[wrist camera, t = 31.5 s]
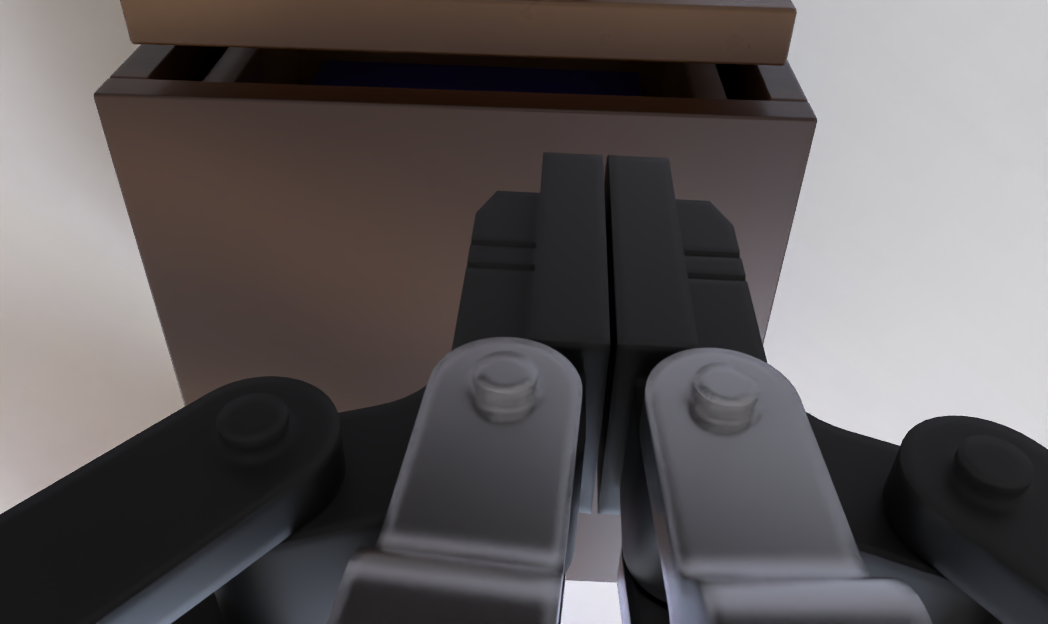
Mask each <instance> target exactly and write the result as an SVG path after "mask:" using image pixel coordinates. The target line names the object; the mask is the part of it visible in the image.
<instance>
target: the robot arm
mask: <svg viewBox="0 0 1048 624" xmlns="http://www.w3.org/2000/svg"><path fill="white" fill-rule="evenodd" d="M745 278H746V274H745V270H744V266H743V262H742V258H740V250H739V246H738V242H737V238H736V234H735V230H734V226H733V225H732V223H731V222H730V221H729V220H728V219H727V218H726V217H725V216H724V215H723V214H722V213H721V212H720V211H719V210H718V209H717V208H716V207H715V206H714V205H713V204H712V203H711V201H702V200H681V199H675V194H674V187H673V181H672V175H671V168H670V162H669V159H668V158H660V157H639V156H618V155H608V156H607V160H606V167H605V176H604V166H603V155H593V154H572V153H552V152H543V160H542V174H541V188H540V193H534V192H514V191H497V192H496V193H495V194H494V195H493V196H492V197H491V198H490V199H489V200H488V201H487V202H486V203H485V204H484V205H483V206H482V207H481V208H480V209H479V210H478V211H477V212H476V215H475V220H474V226H473V232H472V237H471V245H470V249H469V254H468V260H467V267H466V271H465V277H464V283H463V288H462V294H461V300H460V305H459V311H458V316H457V322H456V328H455V333H454V339H453V345H452V350H451V352H449V353H448V354H446V355H445V356H444V357H443V358H442V359H441V360H440V361H439V362H438V363H437V365H436V366H435V367H434V369H433V370H432V373H431V375H430V377H429V380H428V383H427V385H426V386H425V387H423V388H422V389H420V390H419V391H417V392H415V393H413V394H411V395H409V396H407V397H404V398H401V399H399V400H396V401H393V402H389V403H385V404H381V405H377V406H371V407H366V408H361V409H355V410H350V411H345V412H339V413H338V412H337V409H336V407H335V405H334V403H333V402H332V400H331V399H330V398H329V397H328V396H327V395H326V394H325V393H324V392H323V391H322V390H320V389H319V388H317V387H315V386H314V385H312V384H309V383H307V382H304V381H302V380H298V379H293V378H289V377H279V376H261V377H254V378H247V379H243V380H239V381H235V382H232V383H229V384H227V385H224V386H221V387H219V388H217V389H215V390H213V391H211V392H209V393H207V394H206V395H204V396H202V397H201V398H199V399H197V400H195V401H194V402H192V403H190V404H189V405H187V406H185V407H183V408H182V409H180V410H178V411H177V412H175V413H173V414H171V415H170V416H168V417H166V418H165V419H163V420H161V421H159V422H158V423H156V424H154V425H153V426H151V427H149V428H147V429H146V430H144V431H142V432H141V433H139V434H137V435H135V436H134V437H132V438H130V439H129V440H127V441H125V442H123V443H122V444H120V445H118V446H117V447H115V448H113V449H112V450H110V451H108V452H106V453H105V454H103V455H101V456H100V457H98V458H96V459H94V460H93V461H91V462H89V463H88V464H86V465H84V466H82V467H81V468H79V469H77V470H76V471H74V472H72V473H70V474H69V475H67V476H65V477H64V478H62V479H60V480H58V481H57V482H55V483H53V484H52V485H50V486H48V487H46V488H45V489H43V490H41V491H40V492H38V493H36V494H34V495H33V496H31V497H29V498H28V499H26V500H24V501H23V502H21V503H19V504H17V505H16V506H14V507H12V508H11V509H9V510H7V511H5V512H4V513H2V514H0V624H561V617H562V608H563V598H564V589H565V579H566V572H567V570H568V568H569V566H570V565H571V562H572V559H573V556H574V551H575V542H576V532H577V522H578V513H590V514H591V511H592V503H593V494H594V485H595V476H596V467H597V504H598V514H614V515H621V534H622V547H621V553H620V560H619V567H618V573H617V586H618V594H619V602H620V610H621V618H622V624H1048V449H1046V448H1045V447H1043V446H1042V445H1040V444H1039V443H1037V442H1036V441H1034V440H1032V439H1030V438H1029V437H1027V436H1025V435H1024V434H1022V433H1020V432H1018V431H1015V430H1013V429H1011V428H1009V427H1007V426H1004V425H1001V424H998V423H995V422H992V421H988V420H984V419H980V418H975V417H967V416H942V417H936V418H932V419H928V420H925V421H923V422H921V423H919V424H917V425H916V426H914V427H913V428H912V429H911V430H910V431H908V433H907V434H906V436H905V437H904V439H903V441H902V443H901V446H898V445H895V444H892V443H888V442H885V441H881V440H878V439H874V438H871V437H868V436H864V435H861V434H857V433H854V432H850V431H847V430H844V429H841V428H838V427H835V426H832V425H830V424H828V423H826V422H824V421H821V420H819V419H817V418H816V417H814V416H812V415H810V414H809V413H807V412H805V409H804V407H803V404H802V402H801V399H800V397H799V395H798V393H797V391H796V389H795V388H794V386H793V385H792V384H791V383H790V381H789V380H788V379H787V378H786V377H785V376H784V375H783V374H782V373H781V372H779V371H778V370H776V369H775V368H774V367H772V366H771V365H769V364H767V360H766V356H765V352H764V348H763V344H762V339H761V335H760V331H759V327H758V323H757V319H756V315H755V311H754V307H753V303H752V299H751V295H750V291H749V287H748V283H747V282H746V281H745Z"/></svg>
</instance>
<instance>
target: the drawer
mask: <svg viewBox="0 0 1048 624" xmlns="http://www.w3.org/2000/svg"><path fill="white" fill-rule="evenodd" d="M120 2H121V6H122V10H123V14H124V18H125V21H126V25H127V29H128V33H129V37H130V41H131V42H132V43H133V44H149V45H179V46H208V47H228V48H227V50H226V51H225V52H224V54H223V55H222V56H221V57H220V59H219V60H218V61H217V63H216V64H215V65H214V67H213V68H212V69H211V70H210V72H209V73H208V74H207V76H206V77H205V78H204V79H203V81H210V82H239V83H268V84H297V85H311V84H312V82H313V80H314V78H315V77H316V75H317V73H318V71H319V69H320V67H321V65H322V64H323V62H324V61H325V60H333V61H358V62H384V63H410V64H435V65H461V66H487V67H512V68H538V69H564V70H590V71H615V72H637V73H639V78H640V84H641V90H642V96H646V97H675V98H704V99H727V97H726V94H725V91H724V88H723V85H722V82H721V79H720V76H719V73H718V70H717V67H716V64H741V65H771V66H783V65H785V63H786V61H787V56H788V52H789V47H790V42H791V37H792V32H793V28H794V23H795V18H796V13H797V12H796V8H795V6H794V5H793V3H792V1H791V0H120Z"/></svg>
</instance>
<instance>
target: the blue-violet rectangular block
mask: <svg viewBox="0 0 1048 624" xmlns="http://www.w3.org/2000/svg"><path fill="white" fill-rule="evenodd" d="M311 85H326V86H355V87H384V88H413V89H442V90H471V91H500V92H529V93H558V94H588V95H617V96H642V90H641V84H640V78H639V73H637V72H615V71H590V70H564V69H538V68H512V67H487V66H461V65H435V64H410V63H384V62H358V61H333V60H325V61H324V62H323V64H322V65H321V67H320V69H319V71H318V73H317V75H316V77H315V78H314V80H313V82H312V84H311Z"/></svg>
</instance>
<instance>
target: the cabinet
mask: <svg viewBox="0 0 1048 624" xmlns="http://www.w3.org/2000/svg"><path fill="white" fill-rule="evenodd" d="M227 48H228V47H208V46H179V45H149V44H142V45H141V46H140V47H139V48H138V49H137V50H136V51H135V52H134V53H133V54H132V55H131V56H130V57H129V58H128V59H127V60H126V61H125V62H124V63H123V64H122V65H121V66H120V67H119V68H118V69H117V70H116V71H115V72H114V73H113V74H112V75H111V76H110V78H109V79H107V80H106V81H105V82H104V84H103V85H102V86H101V87H100V88H99V89H98V90H97V91H96V92H95V93H94V100H95V103H96V107H97V110H98V113H99V117H100V120H101V124H102V127H103V130H104V134H105V137H106V140H107V144H108V147H109V151H110V154H111V157H112V161H113V164H114V168H115V171H116V174H117V178H118V181H119V184H120V188H121V191H122V195H123V198H124V201H125V205H126V208H127V212H128V215H129V218H130V222H131V225H132V228H133V232H134V235H135V239H136V242H137V245H138V249H139V252H140V256H141V259H142V262H143V266H144V269H145V273H146V276H147V279H148V283H149V286H150V289H151V293H152V296H153V300H154V303H155V306H156V310H157V313H158V317H159V320H160V323H161V327H162V330H163V333H164V337H165V340H166V344H167V347H168V350H169V354H170V357H171V361H172V364H173V367H174V371H175V374H176V377H177V381H178V384H179V388H180V391H181V394H182V398H183V401H184V405H185V406H187V405H189V404H190V403H192V402H194V401H195V400H197V399H199V398H201V397H202V396H204V395H206V394H207V393H209V392H211V391H213V390H215V389H217V388H219V387H221V386H224V385H227V384H229V383H232V382H235V381H239V380H243V379H247V378H254V377H261V376H279V377H289V378H293V379H298V380H302V381H304V382H307V383H309V384H312V385H314V386H315V387H317V388H319V389H320V390H322V391H323V392H324V393H325V394H326V395H327V396H328V397H329V398H330V399H331V400H332V402H333V403H334V405H335V407H336V409H337V412H338V413H339V412H345V411H350V410H355V409H361V408H366V407H371V406H377V405H381V404H385V403H389V402H393V401H396V400H399V399H401V398H404V397H407V396H409V395H411V394H413V393H415V392H417V391H419V390H420V389H422V388H423V387H425V386H426V385H427V383H428V380H429V377H430V375H431V373H432V370H433V369H434V367H435V366H436V365H437V363H438V362H439V361H440V360H441V359H442V358H443V357H444V356H445V355H446V354H448V353H449V352H451V350H452V345H453V339H454V333H455V328H456V322H457V316H458V311H459V305H460V300H461V294H462V288H463V283H464V277H465V271H466V267H467V260H468V254H469V249H470V245H471V237H472V232H473V226H474V220H475V215H476V212H477V211H478V210H479V209H480V208H481V207H482V206H483V205H484V204H485V203H486V202H487V201H488V200H489V199H490V198H491V197H492V196H493V195H494V194H495V193H496V192H497V191H514V192H534V193H540V188H541V174H542V160H543V152H552V153H572V154H593V155H603V166H604V176H605V167H606V160H607V156H608V155H618V156H639V157H660V158H668V159H669V162H670V168H671V175H672V181H673V187H674V194H675V199H681V200H702V201H711V203H712V204H713V205H714V206H715V207H716V208H717V209H718V210H719V211H720V212H721V213H722V214H723V215H724V216H725V217H726V218H727V219H728V220H729V221H730V222H731V223H732V225H733V226H734V230H735V234H736V238H737V242H738V246H739V250H740V258H742V262H743V266H744V270H745V274H746V278H745V281H746V282H747V283H748V287H749V291H750V295H751V299H752V303H753V307H754V311H755V315H756V319H757V323H758V327H759V331H760V335H761V339H762V344H763V343H764V338H765V334H766V330H767V326H768V322H769V318H770V314H771V310H772V305H773V301H774V297H775V293H776V289H777V285H778V281H779V276H780V272H781V268H782V264H783V260H784V256H785V252H786V248H787V243H788V239H789V235H790V231H791V227H792V223H793V219H794V215H795V210H796V206H797V202H798V198H799V194H800V190H801V186H802V182H803V177H804V173H805V169H806V165H807V161H808V157H809V153H810V148H811V144H812V140H813V136H814V132H815V128H816V124H817V118H816V116H815V114H814V112H813V110H812V108H811V106H810V104H809V103H808V102H807V99H806V97H805V95H804V93H803V91H802V89H801V87H800V85H799V83H798V81H797V79H796V77H795V74H794V72H793V70H792V68H791V66H790V64H789V62H788V60H787V61H786V63H785V65H783V66H771V65H741V64H716V67H717V70H718V73H719V76H720V79H721V82H722V85H723V88H724V91H725V94H726V97H727V99H704V98H675V97H646V96H617V95H588V94H558V93H529V92H500V91H471V90H442V89H413V88H384V87H355V86H326V85H297V84H268V83H239V82H210V81H203V79H204V78H205V77H206V76H207V74H208V73H209V72H210V70H211V69H212V68H213V67H214V65H215V64H216V63H217V61H218V60H219V59H220V57H221V56H222V55H223V54H224V52H225V51H226V50H227ZM621 547H622V534H621V515H614V514H598V504H597V467H596V476H595V485H594V494H593V503H592V511H591V514H590V513H578V522H577V532H576V542H575V551H574V556H573V559H572V562H571V565H570V566H569V568H568V570H567V572H566V579H565V580H574V581H597V582H617V573H618V567H619V560H620V553H621Z"/></svg>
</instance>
